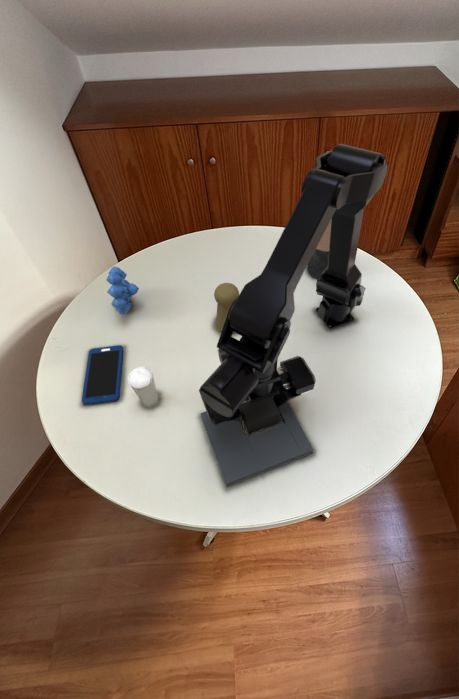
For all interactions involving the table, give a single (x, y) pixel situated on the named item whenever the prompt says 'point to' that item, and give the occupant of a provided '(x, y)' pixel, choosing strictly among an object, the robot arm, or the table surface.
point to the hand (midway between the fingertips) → (257, 412)
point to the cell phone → (103, 375)
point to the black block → (259, 414)
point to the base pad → (256, 446)
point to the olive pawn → (224, 302)
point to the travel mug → (320, 255)
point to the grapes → (121, 290)
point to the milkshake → (144, 385)
